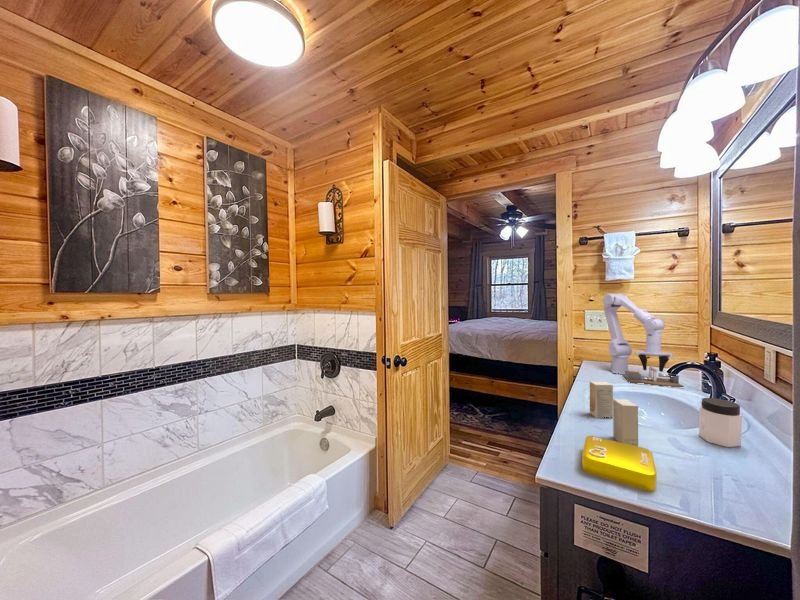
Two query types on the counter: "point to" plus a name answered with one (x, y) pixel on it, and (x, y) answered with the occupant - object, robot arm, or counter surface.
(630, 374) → the binder housing
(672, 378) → the keeper hook
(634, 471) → the element tile
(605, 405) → the skincare box
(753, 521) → the counter surface
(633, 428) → the skincare box
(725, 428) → the jar
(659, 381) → the board
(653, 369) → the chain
